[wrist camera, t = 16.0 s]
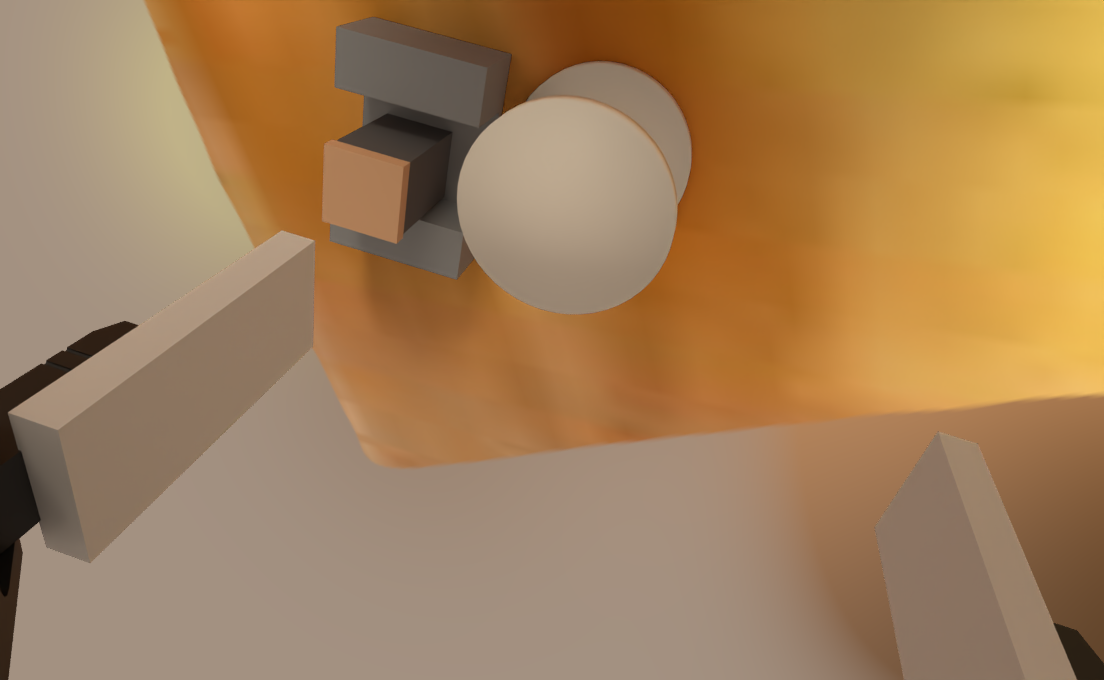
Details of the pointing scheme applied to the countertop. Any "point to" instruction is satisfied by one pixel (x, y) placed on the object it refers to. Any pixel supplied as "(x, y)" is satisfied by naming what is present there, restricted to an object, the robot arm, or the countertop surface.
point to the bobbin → (578, 189)
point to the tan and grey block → (385, 176)
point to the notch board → (422, 120)
